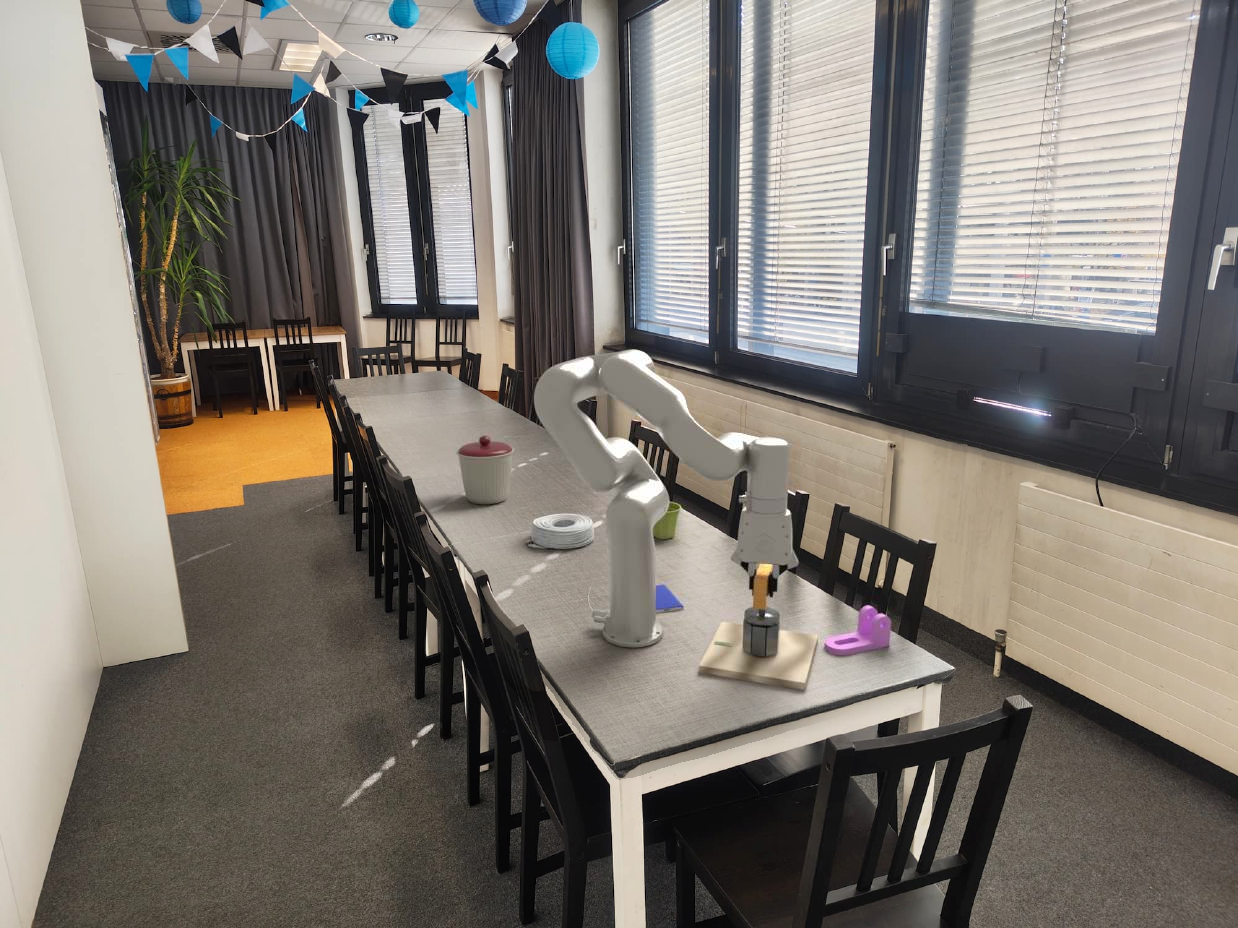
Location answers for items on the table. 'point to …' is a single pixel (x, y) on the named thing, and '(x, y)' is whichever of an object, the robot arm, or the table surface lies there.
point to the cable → (561, 531)
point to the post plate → (760, 658)
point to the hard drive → (666, 600)
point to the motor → (761, 618)
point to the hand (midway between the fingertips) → (762, 593)
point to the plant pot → (667, 522)
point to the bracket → (862, 634)
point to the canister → (486, 470)
